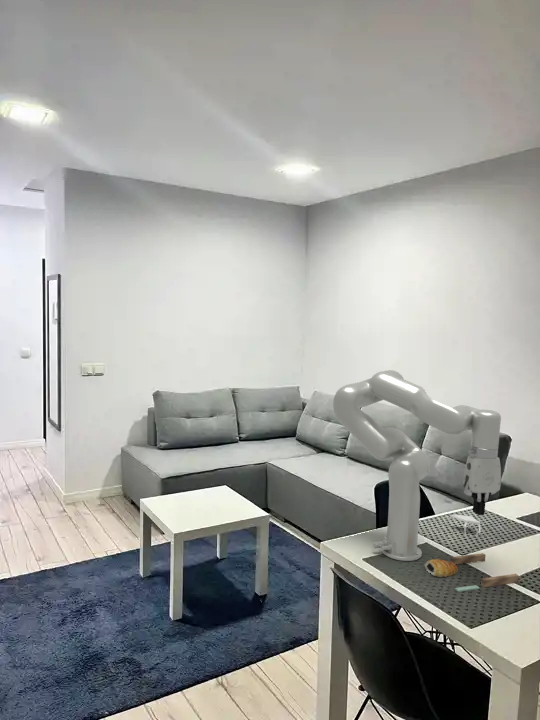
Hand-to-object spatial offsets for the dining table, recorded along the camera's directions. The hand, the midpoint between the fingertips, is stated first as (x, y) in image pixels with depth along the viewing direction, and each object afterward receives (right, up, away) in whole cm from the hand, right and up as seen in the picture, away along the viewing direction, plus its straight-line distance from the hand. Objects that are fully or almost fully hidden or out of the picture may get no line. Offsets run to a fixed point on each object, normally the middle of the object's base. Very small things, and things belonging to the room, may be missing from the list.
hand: (478, 513), depth 166 cm
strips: (-9, -18, -1) cm, 20 cm away
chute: (+2, -18, +2) cm, 19 cm away
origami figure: (+8, -16, +35) cm, 40 cm away
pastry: (-11, -18, +2) cm, 21 cm away
